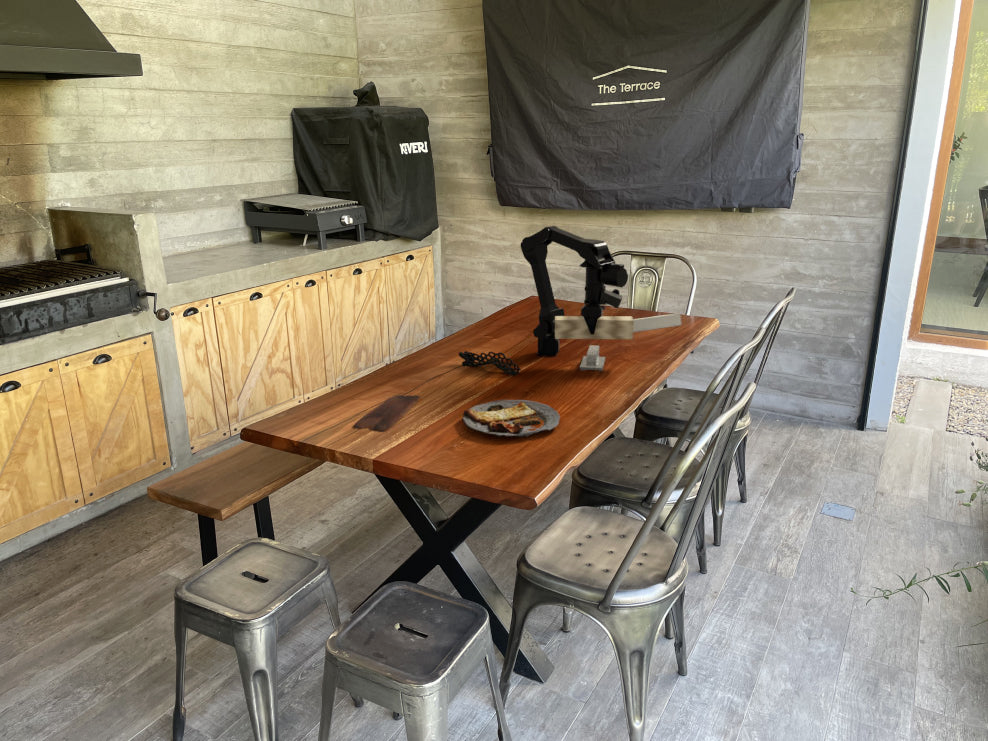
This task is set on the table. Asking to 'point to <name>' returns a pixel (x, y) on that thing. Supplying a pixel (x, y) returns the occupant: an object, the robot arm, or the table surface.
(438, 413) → the table surface
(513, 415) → the food plate
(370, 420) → the wooden tablet
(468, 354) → the decorative element
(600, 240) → the robot arm
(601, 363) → the ridge
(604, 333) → the maple beam
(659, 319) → the decorative molding
